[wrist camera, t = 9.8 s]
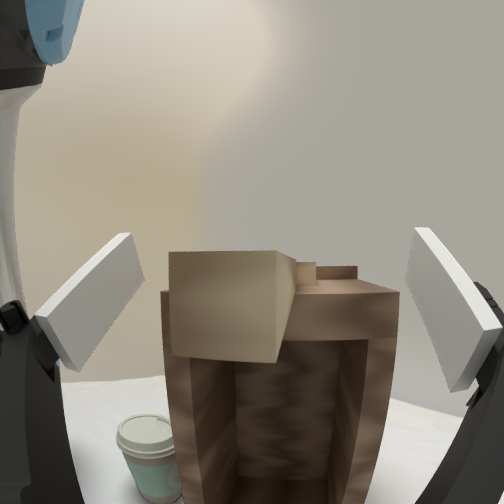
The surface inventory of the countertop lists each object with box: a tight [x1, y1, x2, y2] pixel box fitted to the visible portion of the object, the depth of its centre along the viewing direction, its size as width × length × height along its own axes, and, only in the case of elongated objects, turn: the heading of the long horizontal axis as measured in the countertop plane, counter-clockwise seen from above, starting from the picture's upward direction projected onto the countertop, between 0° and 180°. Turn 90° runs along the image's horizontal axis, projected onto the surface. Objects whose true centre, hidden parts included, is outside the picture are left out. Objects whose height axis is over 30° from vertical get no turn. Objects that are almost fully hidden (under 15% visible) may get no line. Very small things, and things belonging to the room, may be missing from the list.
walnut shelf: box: [161, 266, 400, 504], centre depth 26 cm, size 16×16×32 cm
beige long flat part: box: [169, 251, 316, 363], centre depth 20 cm, size 6×28×2 cm, turn 170°
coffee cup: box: [116, 414, 181, 504], centre depth 29 cm, size 9×9×12 cm
